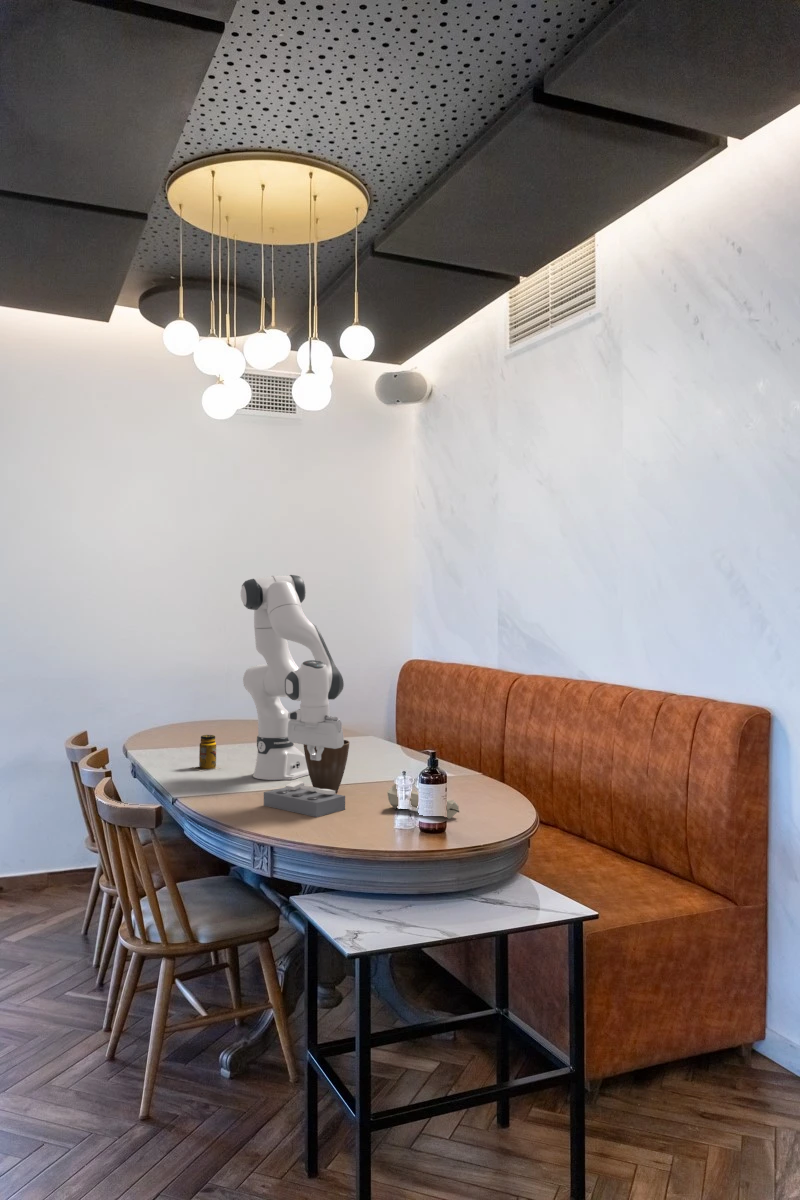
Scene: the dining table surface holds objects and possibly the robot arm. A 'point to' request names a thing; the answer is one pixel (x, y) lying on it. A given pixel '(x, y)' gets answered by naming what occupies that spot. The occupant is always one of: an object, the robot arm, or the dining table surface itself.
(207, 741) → the condiment
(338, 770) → the plant pot
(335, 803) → the switch panel
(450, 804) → the faceted club
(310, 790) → the rocker
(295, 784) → the rocker
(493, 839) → the dining table surface
